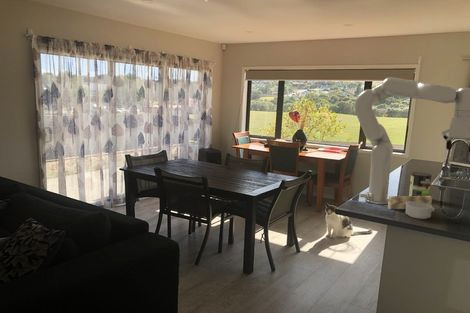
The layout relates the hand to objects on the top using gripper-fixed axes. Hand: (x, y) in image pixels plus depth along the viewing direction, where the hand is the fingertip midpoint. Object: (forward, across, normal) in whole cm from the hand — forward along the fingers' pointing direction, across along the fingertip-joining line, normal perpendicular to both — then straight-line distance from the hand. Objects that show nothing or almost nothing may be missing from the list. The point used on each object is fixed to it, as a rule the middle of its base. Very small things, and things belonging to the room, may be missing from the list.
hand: (459, 150), depth 176 cm
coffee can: (+31, +22, -12) cm, 40 cm away
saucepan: (+31, +2, +20) cm, 37 cm away
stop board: (+30, +15, +12) cm, 36 cm away
